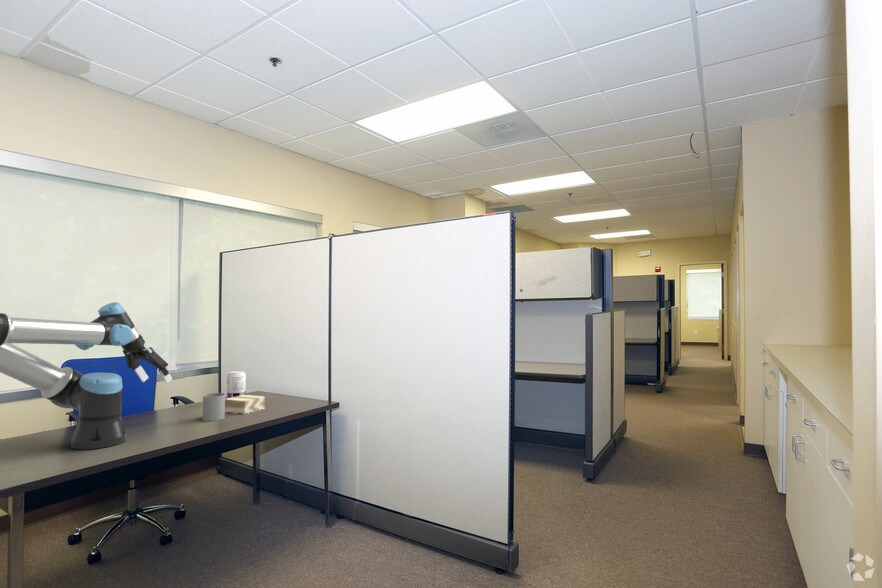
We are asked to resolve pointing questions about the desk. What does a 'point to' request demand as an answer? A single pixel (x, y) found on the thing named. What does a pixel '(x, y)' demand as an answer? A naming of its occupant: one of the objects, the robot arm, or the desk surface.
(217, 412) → the cup
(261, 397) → the birch block
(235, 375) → the supplement can
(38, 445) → the desk surface
